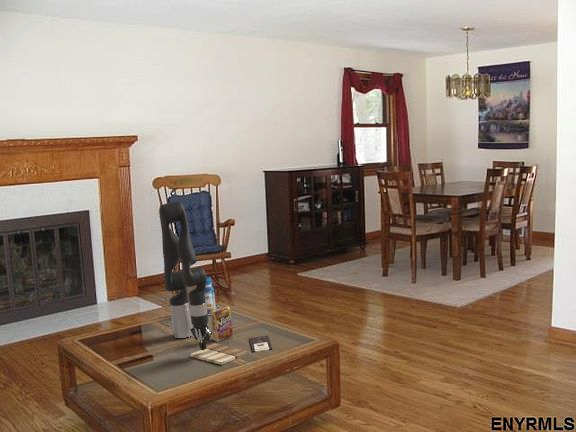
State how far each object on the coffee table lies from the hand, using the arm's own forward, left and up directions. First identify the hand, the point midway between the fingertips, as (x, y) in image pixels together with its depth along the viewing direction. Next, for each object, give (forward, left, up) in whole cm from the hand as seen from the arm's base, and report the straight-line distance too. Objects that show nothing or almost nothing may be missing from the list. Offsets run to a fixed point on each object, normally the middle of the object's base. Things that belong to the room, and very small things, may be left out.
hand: (203, 349), depth 267 cm
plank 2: (+11, 0, -3) cm, 11 cm away
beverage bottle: (-47, +45, -3) cm, 65 cm away
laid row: (+6, +8, -3) cm, 10 cm away
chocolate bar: (+14, +23, -4) cm, 27 cm away
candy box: (-8, +20, -3) cm, 22 cm away
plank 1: (0, 0, -3) cm, 3 cm away
